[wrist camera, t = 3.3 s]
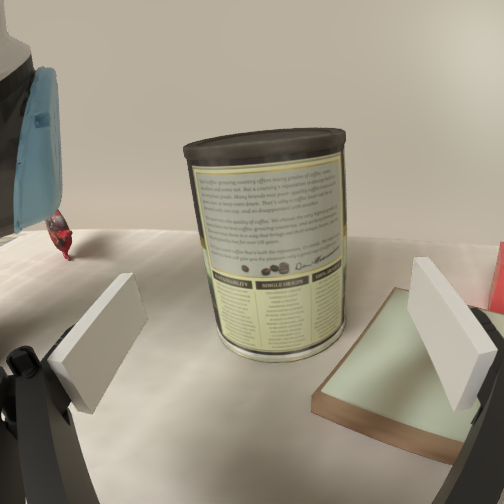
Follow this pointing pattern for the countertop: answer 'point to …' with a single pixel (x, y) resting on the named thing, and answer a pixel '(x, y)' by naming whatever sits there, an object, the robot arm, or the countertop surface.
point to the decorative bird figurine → (59, 233)
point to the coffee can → (273, 238)
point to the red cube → (498, 284)
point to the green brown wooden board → (396, 387)
